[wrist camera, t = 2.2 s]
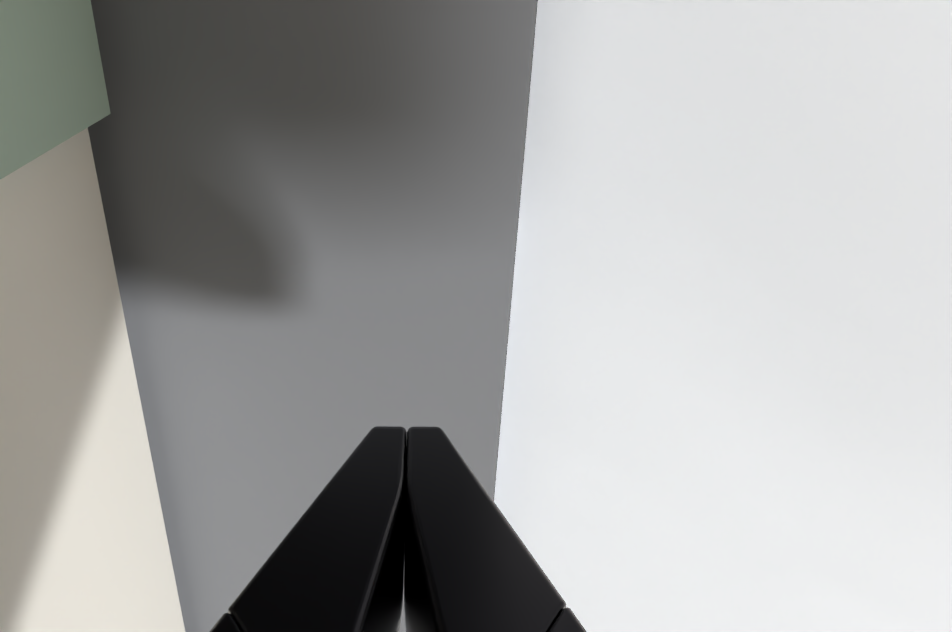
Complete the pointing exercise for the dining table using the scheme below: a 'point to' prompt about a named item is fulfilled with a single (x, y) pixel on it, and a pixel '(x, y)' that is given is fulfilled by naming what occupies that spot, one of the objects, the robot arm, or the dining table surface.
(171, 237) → the mat
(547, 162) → the dining table surface
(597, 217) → the dining table surface
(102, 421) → the cream rectangular bar
